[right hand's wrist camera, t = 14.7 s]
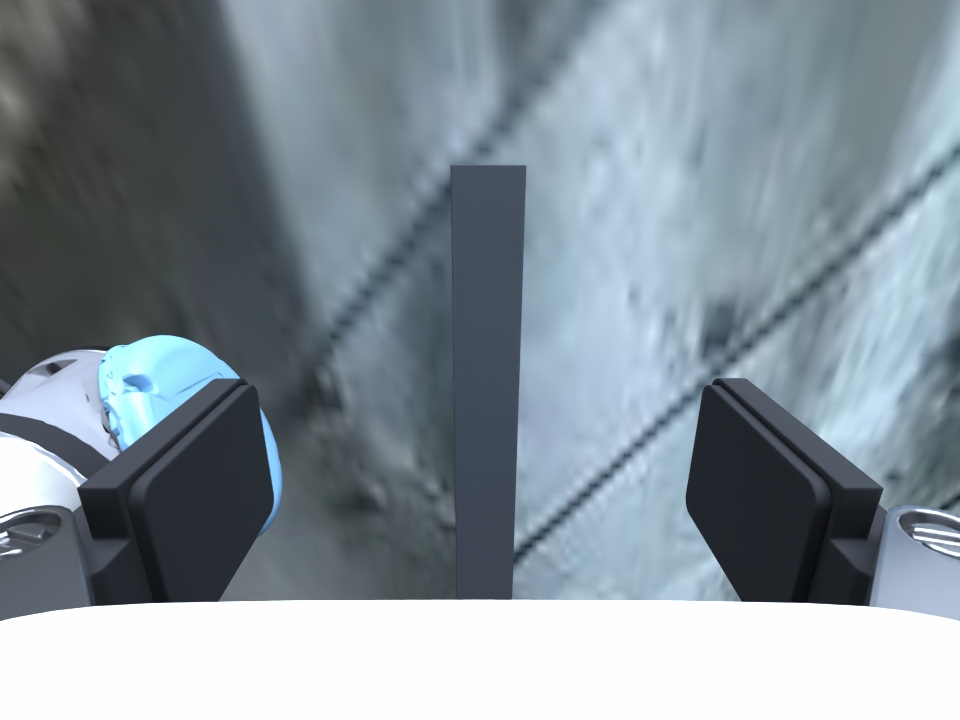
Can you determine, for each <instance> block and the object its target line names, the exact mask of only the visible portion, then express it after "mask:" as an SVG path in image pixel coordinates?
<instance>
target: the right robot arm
mask: <svg viewBox="0 0 960 720" xmlns="http://www.w3.org/2000/svg"><path fill="white" fill-rule="evenodd" d="M77 491H78V494H79V498H80V501H81V505H80V506H79V507H78V508H77V509H76V510H74V511H73V512H72V511H71V510H70V509H69V508H66V507H63V506H59V505H42V506H34V507H28V508H24V509H20V510H16V511H12V512H9V513H6V514H4V515H1V516H0V720H960V516H959V515H956V514H954V513H951V512H948V511H944V510H940V509H936V508H932V507H926V506H918V505H901V506H897V507H894V508H891V509H890V510H889V511H888V512H887V511H886V510H884V509H883V508H882V507H881V506H880V505H879V501H880V498H881V494H882V491H883V488H882V487H881V486H880V485H879V484H877V483H876V482H875V481H874V480H872V479H871V478H870V477H869V476H867V475H866V474H865V473H864V472H862V471H861V470H860V469H859V468H857V467H856V466H855V465H854V464H852V463H851V462H850V461H849V460H847V459H846V458H845V457H844V456H842V455H841V454H840V453H839V452H837V451H836V450H835V449H834V448H832V447H831V446H830V445H829V444H827V443H826V442H825V441H824V440H822V439H821V438H820V437H819V436H817V435H816V434H815V433H814V432H812V431H811V430H810V429H809V428H807V427H806V426H805V425H804V424H802V423H801V422H800V421H798V420H797V419H796V418H795V417H793V416H792V415H791V414H790V413H788V412H787V411H786V410H785V409H783V408H782V407H781V406H780V405H778V404H777V403H776V402H775V401H773V400H772V399H771V398H770V397H768V396H767V395H766V394H765V393H763V392H762V391H761V390H760V389H758V388H757V387H756V386H755V385H753V384H752V383H751V382H750V381H748V380H747V379H745V378H718V379H715V380H714V381H713V383H712V385H707V386H706V387H705V388H704V390H703V393H702V399H701V405H700V411H699V417H698V423H697V430H696V436H695V442H694V448H693V454H692V460H691V467H690V473H689V479H688V485H687V491H686V506H687V510H688V512H689V514H690V516H691V518H692V519H693V521H694V523H695V524H696V526H697V528H698V529H699V531H700V533H701V534H702V536H703V538H704V539H705V541H706V543H707V544H708V546H709V548H710V549H711V551H712V553H713V554H714V556H715V558H716V559H717V561H718V563H719V564H720V566H721V568H722V569H723V571H724V573H725V574H726V576H727V578H728V579H729V581H730V583H731V584H732V586H733V588H734V589H735V591H736V592H737V594H738V596H739V597H740V599H741V601H742V602H707V601H614V600H346V601H253V602H218V601H219V599H220V597H221V596H222V594H223V592H224V591H225V589H226V588H227V586H228V584H229V583H230V581H231V579H232V578H233V576H234V574H235V573H236V571H237V569H238V568H239V566H240V564H241V563H242V561H243V559H244V558H245V556H246V554H247V553H248V551H249V549H250V548H251V546H252V544H253V543H254V541H255V539H256V538H257V536H258V534H259V533H260V531H261V529H262V528H263V526H264V524H265V523H266V521H267V519H268V518H269V516H270V514H271V512H272V510H273V506H274V491H273V485H272V479H271V473H270V467H269V460H268V454H267V448H266V442H265V436H264V430H263V423H262V417H261V411H260V405H259V399H258V393H257V390H256V388H255V387H254V386H253V385H248V383H247V381H246V380H245V379H242V378H215V379H213V380H212V381H210V382H209V383H208V384H207V385H205V386H204V387H203V388H202V389H200V390H199V391H198V392H197V393H195V394H194V395H193V396H192V397H190V398H189V399H188V400H187V401H185V402H184V403H183V404H182V405H180V406H179V407H178V408H177V409H175V410H174V411H173V412H172V413H170V414H169V415H168V416H167V417H165V418H164V419H163V420H162V421H160V422H159V423H158V424H156V425H155V426H154V427H153V428H151V429H150V430H149V431H148V432H146V433H145V434H144V435H143V436H141V437H140V438H139V439H138V440H136V441H135V442H134V443H133V444H131V445H130V446H129V447H128V448H126V449H125V450H124V451H123V452H121V453H120V454H119V455H118V456H116V457H115V458H114V459H113V460H111V461H110V462H109V463H108V464H106V465H105V466H104V467H103V468H101V469H100V470H99V471H98V472H96V473H95V474H94V475H93V476H91V477H90V478H89V479H88V480H86V481H85V482H84V483H83V484H81V485H80V486H79V487H78V488H77Z"/></svg>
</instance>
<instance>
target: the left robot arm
mask: <svg viewBox="0 0 960 720" xmlns="http://www.w3.org/2000/svg"><path fill="white" fill-rule="evenodd" d="M215 378H239V377H238V376H237V374H236V373H235V372H234V371H233V370H232V369H231V368H230V367H229V366H228V365H227V364H226V363H225V362H223V361H221V360H219V359H218V358H217V357H216V356H215V355H214V354H213V353H211V352H210V351H209V350H207V349H206V348H204V347H202V346H200V345H198V344H196V343H194V342H192V341H189V340H187V339H183V338H180V337H175V336H164V335H161V336H153V337H148V338H145V339H142V340H140V341H137V342H135V343H132V344H130V345H118V346H115V347H113V348H112V347H103V346H86V347H78V348H74V349H70V350H67V351H64V352H61V353H59V354H57V355H55V356H52V357H50V358H48V359H46V360H44V361H42V362H41V363H39V364H37V365H36V366H35V367H33V368H32V369H30V370H29V371H28V372H26V373H25V374H24V375H23V376H22V377H21V378H20V379H19V380H18V381H17V382H16V383H15V384H14V386H13V387H12V386H11V385H9V384H8V383H6V382H5V381H3V380H2V379H0V393H1V394H3V395H4V397H3V398H2V399H1V400H0V516H1V515H4V514H6V513H9V512H12V511H16V510H20V509H24V508H28V507H34V506H42V505H59V506H63V507H66V508H69V509H70V510H71V511H72V512H73V511H74V510H76V509H77V508H78V507H79V506H80V505H81V501H80V498H79V494H78V491H77V488H78V487H79V486H80V485H81V484H83V483H84V482H85V481H86V480H88V479H89V478H90V477H91V476H93V475H94V474H95V473H96V472H98V471H99V470H100V469H101V468H103V467H104V466H105V465H106V464H108V463H109V462H110V461H111V460H113V459H114V458H115V457H116V456H118V455H119V454H120V453H121V452H123V451H124V450H125V449H126V448H128V447H129V446H130V445H131V444H133V443H134V442H135V441H136V440H138V439H139V438H140V437H141V436H143V435H144V434H145V433H146V432H148V431H149V430H150V429H151V428H153V427H154V426H155V425H156V424H158V423H159V422H160V421H162V420H163V419H164V418H165V417H167V416H168V415H169V414H170V413H172V412H173V411H174V410H175V409H177V408H178V407H179V406H180V405H182V404H183V403H184V402H185V401H187V400H188V399H189V398H190V397H192V396H193V395H194V394H195V393H197V392H198V391H199V390H200V389H202V388H203V387H204V386H205V385H207V384H208V383H209V382H210V381H212V380H213V379H215ZM260 411H261V417H262V423H263V430H264V436H265V442H266V448H267V454H268V460H269V467H270V473H271V479H272V485H273V491H274V506H273V510H272V512H271V514H270V516H269V518H268V519H267V521H266V523H265V524H264V526H263V528H262V529H261V531H260V533H259V534H258V536H257V538H258V537H259V536H261V535H262V534H263V533H264V532H265V531H266V530H267V529H268V528H269V526H270V525H271V523H272V522H273V520H274V518H275V516H276V514H277V511H278V509H279V505H280V501H281V495H282V470H281V465H280V461H279V457H278V450H277V446H276V442H275V439H274V437H273V434H272V431H271V429H270V426H269V424H268V422H267V420H266V418H265V416H264V414H263V412H262V410H261V408H260Z"/></svg>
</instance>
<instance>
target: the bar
mask: <svg viewBox="0 0 960 720" xmlns="http://www.w3.org/2000/svg"><path fill="white" fill-rule="evenodd" d="M525 188H526V165H463V164H452V165H451V217H452V288H453V358H454V429H455V499H456V570H457V600H512V582H513V551H514V521H515V491H516V461H517V430H518V400H519V370H520V339H521V309H522V279H523V249H524V218H525Z"/></svg>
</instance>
